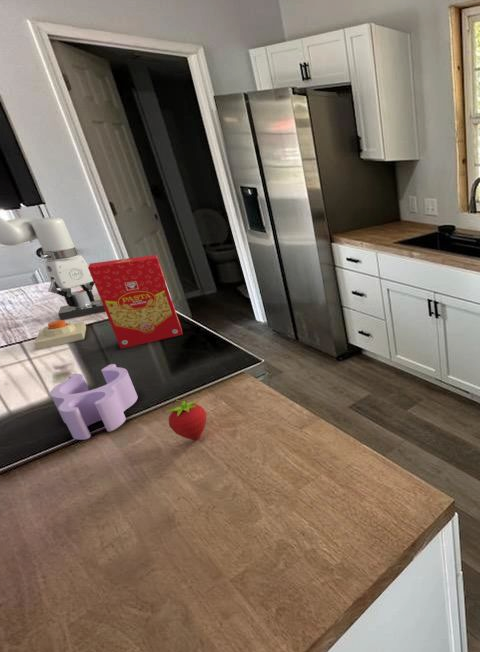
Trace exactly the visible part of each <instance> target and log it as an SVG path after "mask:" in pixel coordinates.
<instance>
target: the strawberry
mask: <svg viewBox="0 0 480 652" xmlns="http://www.w3.org/2000/svg"><path fill="white" fill-rule="evenodd" d="M176 401H177V402H181V404H180V406H176V407H171V409H168V410H165V411H164V413H170V415H169V416H168V418H167V419H168V426H169V428H170V429H171V430H172V431H173V432H174V433H175V434H176V435H178V436H181V437H182V438H185V439H188V440H191V441H193V442H197V441H199V440H200V438H201V436H202V434H203V432H204V430H205V427H206V424H207V412H206V410H205V409H204V407H203V406H201V405H199V404H196V403H198V402H199V400H196V401H195V400H194V401H191V402H187V401H186V400H184V401H183V400H178V399H176Z"/></svg>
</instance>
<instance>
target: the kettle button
mask: <svg viewBox="0 0 480 652" xmlns="http://www.w3.org/2000/svg"><path fill="white" fill-rule="evenodd" d="M65 322H66V321H65V320H61V319H59V320H54V321H51V322H48V323H47V326H49V328H50V329H57V328H61V327H64V326H66V323H65Z"/></svg>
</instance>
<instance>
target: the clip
mask: <svg viewBox="0 0 480 652" xmlns="http://www.w3.org/2000/svg"><path fill="white" fill-rule="evenodd" d="M101 373H102V376H103V378H104V380H105V383H106V384H104V385H102V386H99V387H96V388H93V389H89V387H88V384H87V382H86V380H85V378H84V375H83V374H81V373H77V372H76V373H75V372H74V373H71V374H69V375H67V376H68V378H67V379H65V380H63V381H62V382H60V383H58V384H56V385H55V386H54V387H53V388H51V390H50V392H49V395H50V397H51V400H52V402H53V403H54V405H55V407H56V409H57V411H58V413H59V415H60V417H61V419H62V421H63V423H64V424H65V425H66V427H67V428H68V430H69V432H70V435H71V437H72V438H73V439H74V440H79V441H82V440H88V439H90V438H91V437H92V434H91V432H90V430H89V428H88V427H89V426H90V425H93V424H95V423H97V422H98V423H99V422H100V421H102V423H103V425H104V427H105V430H106V431H107V432H113V431H115V430H116V429H118V428H119V427H121V426H122V425H123V424H124V423H125V422H126V419H127V418H126V415H125V413H124V412H125V411H127V409H129V408H131V407H132V406H133V405H135V403H136V402H137V400H138V394H137V391H136V389H135V386H134V384H133V381H132V379H131V377H130V374H129V372H128V370H127V368H124V367H118V366H117V364H116V363H111V364H108V365H106V366H105V367H103V368H102V369H101Z"/></svg>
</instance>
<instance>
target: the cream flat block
mask: <svg viewBox="0 0 480 652" xmlns="http://www.w3.org/2000/svg"><path fill="white" fill-rule="evenodd" d="M65 323H66V326H64V327H61V328H57V329H50V328H49V326H48V325H47V326H45V327H44V328H42V329H40V330H39V331H38V333H37V335H36V338H35V340H34V346H35V349H36V350H42V349H46V348H51V347H55V346H60V345H64V344H68V343H69V344H70V343H75V342H78V341H83V340H85V336H86V331H87V326H86V324H85V321H80V322H72V321H65Z"/></svg>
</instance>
